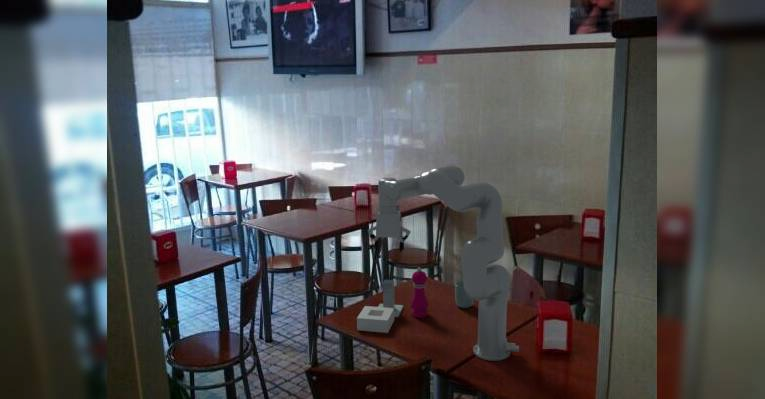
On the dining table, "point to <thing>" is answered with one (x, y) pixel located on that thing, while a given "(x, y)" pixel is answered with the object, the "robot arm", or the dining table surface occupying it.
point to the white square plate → (395, 309)
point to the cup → (462, 296)
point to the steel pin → (388, 294)
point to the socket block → (375, 319)
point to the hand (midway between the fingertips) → (389, 250)
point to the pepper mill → (419, 294)
